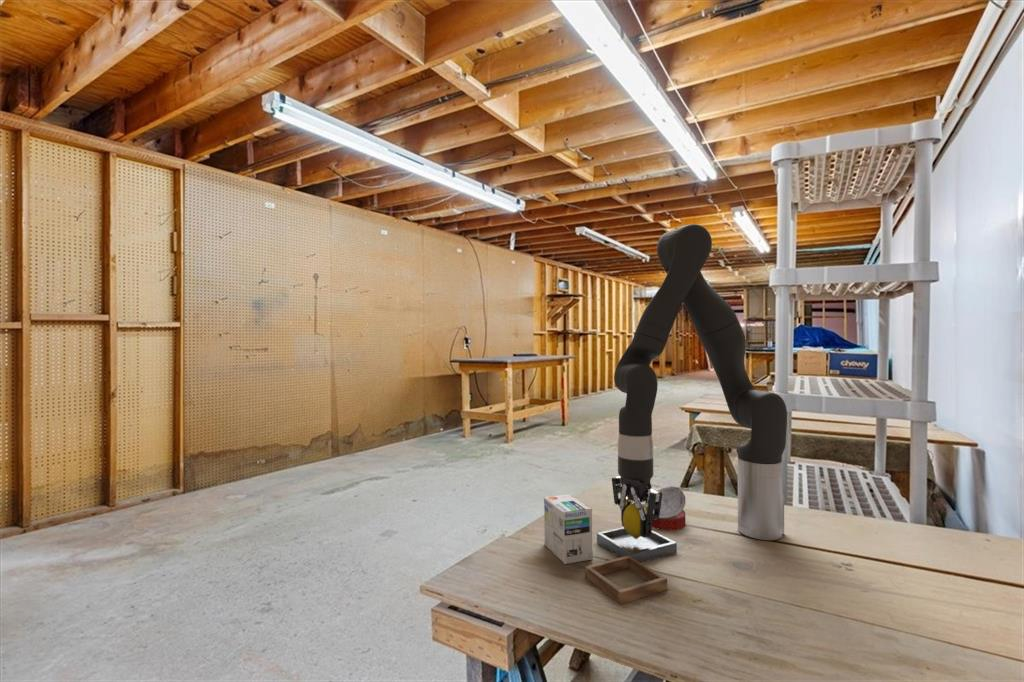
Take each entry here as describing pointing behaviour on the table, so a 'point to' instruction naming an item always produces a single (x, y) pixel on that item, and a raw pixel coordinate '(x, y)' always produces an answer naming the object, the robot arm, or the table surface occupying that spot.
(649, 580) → the holder
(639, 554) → the tray
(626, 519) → the lemon
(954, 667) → the table surface
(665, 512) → the canned food
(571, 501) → the light bulb box
